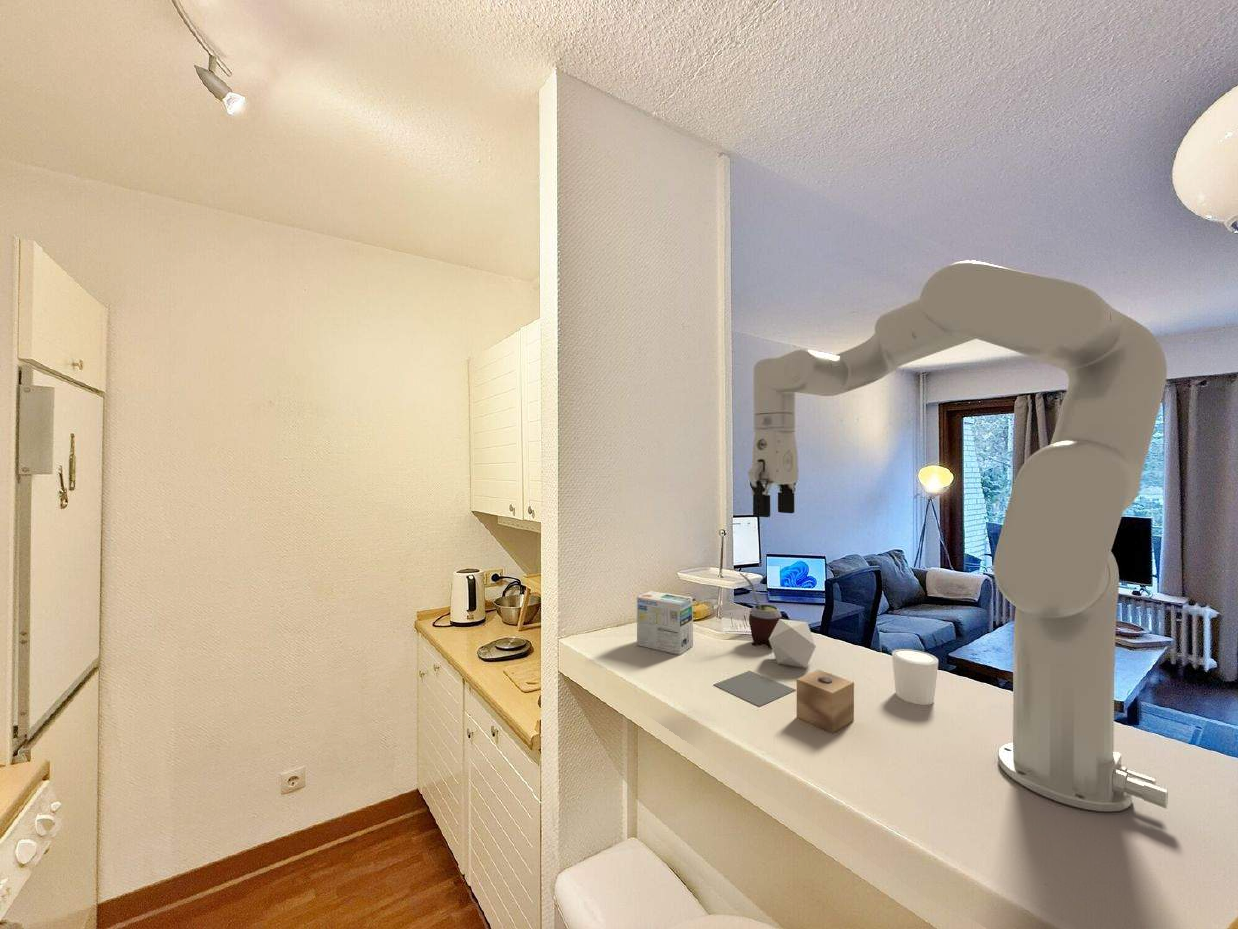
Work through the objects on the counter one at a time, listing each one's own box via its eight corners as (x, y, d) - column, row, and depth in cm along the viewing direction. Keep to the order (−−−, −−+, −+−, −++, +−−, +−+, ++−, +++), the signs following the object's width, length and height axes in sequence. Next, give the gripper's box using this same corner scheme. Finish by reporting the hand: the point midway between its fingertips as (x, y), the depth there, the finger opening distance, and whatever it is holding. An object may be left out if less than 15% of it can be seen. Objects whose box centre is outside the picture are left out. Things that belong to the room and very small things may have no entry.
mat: (795, 690, 88) (795, 689, 88) (759, 707, 82) (759, 706, 82) (749, 671, 96) (749, 670, 96) (713, 685, 90) (713, 684, 90)
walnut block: (853, 721, 78) (854, 681, 78) (832, 734, 74) (832, 692, 74) (818, 706, 83) (818, 668, 83) (796, 717, 79) (796, 678, 79)
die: (819, 662, 102) (793, 615, 107) (832, 655, 94) (803, 605, 99) (781, 679, 101) (757, 631, 106) (791, 674, 94) (764, 622, 98)
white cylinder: (943, 709, 82) (943, 666, 81) (895, 703, 84) (895, 660, 84) (932, 691, 88) (932, 651, 88) (888, 685, 90) (888, 646, 90)
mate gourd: (788, 648, 108) (789, 578, 108) (755, 651, 106) (755, 580, 106) (770, 636, 115) (770, 570, 115) (738, 639, 113) (738, 572, 113)
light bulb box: (694, 646, 110) (694, 596, 109) (680, 656, 104) (680, 603, 104) (650, 636, 115) (650, 589, 115) (635, 646, 109) (635, 596, 109)
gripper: (770, 420, 87) (770, 520, 87) (812, 425, 100) (812, 512, 100) (732, 423, 93) (732, 516, 93) (777, 427, 105) (777, 510, 105)
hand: (774, 514), depth 96 cm, fingers open, 9 cm apart
